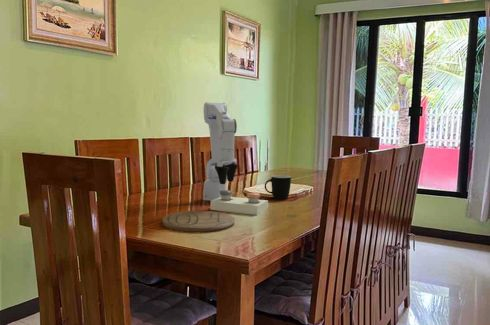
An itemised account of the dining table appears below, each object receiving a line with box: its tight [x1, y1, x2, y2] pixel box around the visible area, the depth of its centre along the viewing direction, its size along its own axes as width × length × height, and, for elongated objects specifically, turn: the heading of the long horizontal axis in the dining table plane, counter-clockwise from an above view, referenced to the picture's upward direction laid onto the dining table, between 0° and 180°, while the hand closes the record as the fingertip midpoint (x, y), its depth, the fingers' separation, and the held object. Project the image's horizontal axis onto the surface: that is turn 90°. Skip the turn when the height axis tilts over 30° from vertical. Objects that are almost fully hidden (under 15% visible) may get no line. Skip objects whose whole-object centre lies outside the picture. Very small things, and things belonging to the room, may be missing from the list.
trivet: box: [162, 210, 235, 234], centre depth 155 cm, size 25×25×2 cm
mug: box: [264, 174, 292, 200], centre depth 204 cm, size 12×9×10 cm
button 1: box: [220, 189, 233, 201], centre depth 180 cm, size 5×5×4 cm
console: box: [210, 196, 269, 216], centre depth 178 cm, size 20×12×4 cm, turn 68°
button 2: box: [246, 192, 261, 204], centre depth 175 cm, size 5×5×4 cm
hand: (226, 182), depth 179 cm, fingers open, 7 cm apart
